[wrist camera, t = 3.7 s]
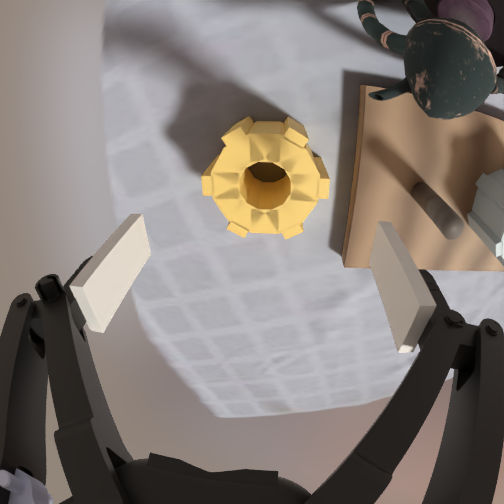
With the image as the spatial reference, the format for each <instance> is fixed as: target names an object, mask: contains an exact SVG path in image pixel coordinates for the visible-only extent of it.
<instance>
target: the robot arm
mask: <svg viewBox="0 0 504 504" xmlns="http://www.w3.org/2000/svg"><path fill="white" fill-rule="evenodd" d="M150 255H151V252H150V248H149V243H148V239H147V234H146V229H145V225H144V220H143V215H142V214H131V215H130V216H129V217H128V218H127V219H126V220H125V221H124V222H123V223H122V224H121V225H120V226H119V228H118V229H117V230H116V231H115V232H114V233H113V234H112V235H111V236H110V237H109V239H108V240H107V241H106V242H105V243H104V244H103V245H102V247H101V248H100V249H99V250H98V251H97V252H96V254H95V255H94V256H91V257H90V258H88V259H86V260H85V261H84V262H83V263H82V264H81V265H80V267H79V269H77V270H76V271H75V274H73V275H72V276H71V278H70V279H69V280H68V281H67V282H66V284H65V285H64V286H62V284H61V282H60V279H59V277H58V275H56V274H50V275H47V276H45V277H43V278H41V279H40V280H39V281H38V282H37V283H36V286H35V289H36V291H37V293H38V295H39V297H40V299H41V300H39V301H33V299H32V297H31V295H30V294H28V293H24V294H21V295H19V296H17V297H16V298H15V299H14V300H13V302H12V303H11V306H10V309H9V312H8V314H7V317H6V321H5V324H4V327H3V330H2V333H1V336H0V504H53V498H52V497H51V495H50V494H49V493H48V491H47V489H46V487H45V484H46V443H45V420H46V395H47V382H48V375H49V381H50V387H51V393H52V398H53V403H54V408H55V412H56V417H57V421H58V425H59V430H57V431H55V433H54V438H55V443H56V445H57V450H58V454H59V457H60V460H61V464H62V467H63V470H64V473H65V476H66V479H67V482H68V484H69V487H70V490H71V493H72V495H73V496H72V497H70V498H68V499H67V500H65V501H63V502H61V503H59V504H374V503H375V502H376V500H377V499H378V498H379V497H380V495H381V494H382V493H383V491H384V490H385V489H386V487H387V486H388V484H389V483H390V481H391V479H392V474H393V472H394V470H395V468H396V467H397V465H398V464H399V462H400V461H401V460H402V458H403V456H404V455H405V453H406V452H407V450H408V449H409V447H410V445H411V444H412V442H413V440H414V439H415V437H416V435H417V434H418V432H419V430H420V428H421V427H422V425H423V423H424V421H425V419H426V418H427V416H428V414H429V412H430V410H431V408H432V406H433V404H434V402H435V400H436V398H437V396H438V394H439V392H440V390H441V387H442V386H443V383H444V381H445V379H446V377H447V374H448V372H449V370H450V368H453V369H454V376H453V384H452V391H451V397H450V403H449V409H448V414H447V419H446V424H445V429H444V433H443V437H442V441H441V445H440V449H439V453H438V457H437V460H436V464H435V467H434V471H433V474H432V477H431V480H430V483H429V486H428V489H427V491H426V494H425V497H424V500H423V502H422V504H492V501H493V496H494V492H495V488H496V484H497V479H498V473H499V468H500V462H501V456H502V448H503V441H504V332H503V329H502V327H501V326H500V324H499V323H497V322H496V321H494V320H492V319H488V318H487V319H483V320H482V321H481V323H480V325H479V326H475V325H471V324H467V323H466V322H465V319H464V318H463V317H462V315H461V314H459V313H458V312H456V311H454V310H450V308H449V306H448V304H447V302H446V300H445V298H444V296H443V294H442V293H441V291H440V289H439V287H438V285H436V284H437V283H436V281H435V280H434V278H433V276H432V275H431V274H430V273H429V272H428V271H426V270H425V269H418V268H417V266H416V264H415V263H414V261H413V259H412V257H411V255H410V254H409V252H408V250H407V248H406V247H405V245H404V243H403V242H402V240H401V238H400V236H399V235H398V233H397V231H396V230H395V228H394V227H393V225H392V223H391V222H384V221H378V224H377V229H376V234H375V238H374V243H373V248H372V252H371V256H370V261H369V265H370V267H371V270H372V273H373V276H374V278H375V281H376V284H377V287H378V290H379V293H380V296H381V299H382V302H383V305H384V308H385V311H386V314H387V318H388V321H389V324H390V327H391V331H392V334H393V338H394V341H395V345H396V348H397V352H398V353H404V352H413V351H414V349H415V347H416V346H417V344H419V347H420V352H419V354H418V355H417V357H416V359H415V360H414V362H413V364H412V366H411V367H410V369H409V371H408V373H407V374H406V376H405V377H404V379H403V381H402V382H401V384H400V385H399V387H398V389H397V390H396V392H395V393H394V395H393V396H392V398H391V399H390V401H389V402H388V404H387V405H386V407H385V408H384V409H383V411H382V412H381V414H380V415H379V417H378V418H377V419H376V421H375V422H374V423H373V425H372V426H371V428H370V429H369V430H368V431H367V433H366V434H365V435H364V437H363V438H362V439H361V441H360V442H359V443H358V444H357V445H356V447H355V448H354V449H353V450H352V452H351V453H350V454H349V455H348V456H347V457H346V459H345V460H344V461H343V462H342V463H341V464H340V465H339V467H338V468H337V469H336V470H335V471H334V472H333V473H332V474H331V475H330V476H329V478H328V479H327V480H326V481H325V482H324V483H323V484H322V485H321V486H320V487H319V488H318V489H317V490H316V491H315V492H314V493H313V494H312V495H311V494H310V493H309V492H308V491H307V490H306V489H304V488H303V487H301V486H300V485H298V484H296V483H294V482H293V481H290V480H287V479H285V478H281V477H278V471H264V470H263V471H262V470H250V469H243V470H233V471H224V472H207V471H205V470H202V469H200V468H198V467H195V466H193V465H191V464H188V463H186V462H184V461H182V460H180V459H175V458H170V457H166V456H162V455H158V454H153V453H150V455H149V458H148V459H139V460H133V458H132V456H131V455H130V454H129V452H128V451H127V449H126V448H125V446H124V444H123V442H122V439H121V437H120V435H119V432H118V430H117V427H116V425H115V423H114V420H113V417H112V415H111V412H110V410H109V407H108V404H107V402H106V399H105V396H104V393H103V390H102V387H101V384H100V381H99V378H98V375H97V372H96V369H95V365H94V362H93V359H92V355H91V351H90V348H89V344H88V340H87V336H86V333H85V331H84V329H83V326H84V325H85V323H86V322H87V324H88V326H89V328H90V330H92V331H96V332H101V333H104V331H105V329H106V327H107V326H108V324H109V322H110V320H111V319H112V317H113V315H114V313H115V311H116V310H117V308H118V306H119V305H120V303H121V301H122V300H123V298H124V296H125V295H126V293H127V291H128V290H129V288H130V287H131V285H132V283H133V282H134V280H135V278H136V277H137V275H138V274H139V272H140V270H141V269H142V267H143V266H144V264H145V263H146V261H147V259H148V258H149V256H150Z"/></svg>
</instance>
